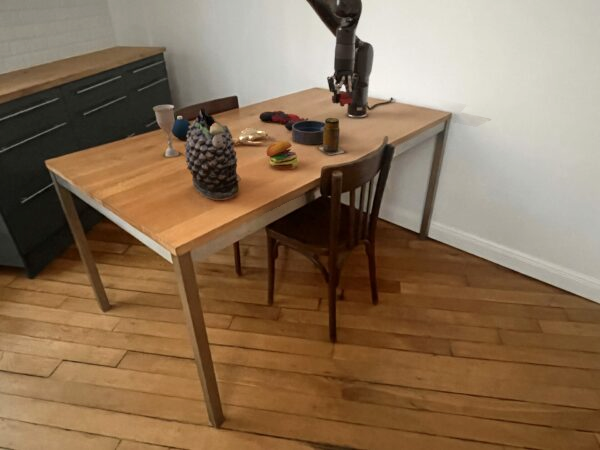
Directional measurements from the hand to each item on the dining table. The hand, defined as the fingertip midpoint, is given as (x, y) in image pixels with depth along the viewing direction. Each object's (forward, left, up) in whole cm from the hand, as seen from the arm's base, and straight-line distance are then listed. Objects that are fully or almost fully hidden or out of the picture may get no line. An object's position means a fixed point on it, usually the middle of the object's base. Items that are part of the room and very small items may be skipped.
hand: (341, 102), depth 161 cm
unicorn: (+21, -32, -16) cm, 41 cm away
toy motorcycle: (-7, -31, -16) cm, 35 cm away
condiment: (+13, +3, -16) cm, 20 cm away
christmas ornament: (+33, -57, -16) cm, 67 cm away
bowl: (+6, -11, -15) cm, 20 cm away
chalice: (+48, -48, -16) cm, 69 cm away
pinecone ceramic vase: (+62, -14, -16) cm, 65 cm away
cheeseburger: (+35, -6, -16) cm, 39 cm away
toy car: (0, 0, -1) cm, 1 cm away
